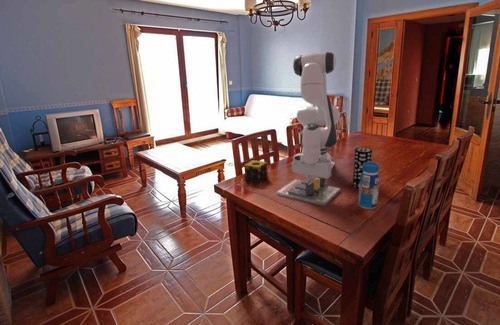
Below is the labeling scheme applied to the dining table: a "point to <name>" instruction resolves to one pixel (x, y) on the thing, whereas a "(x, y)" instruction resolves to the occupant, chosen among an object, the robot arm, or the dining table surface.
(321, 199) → the panel
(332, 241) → the dining table surface
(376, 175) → the blue lidded canister
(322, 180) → the breaker
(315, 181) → the breaker
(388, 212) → the dining table surface
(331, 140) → the robot arm
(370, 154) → the white-spotted black cylinder
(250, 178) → the candle
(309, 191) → the breaker
